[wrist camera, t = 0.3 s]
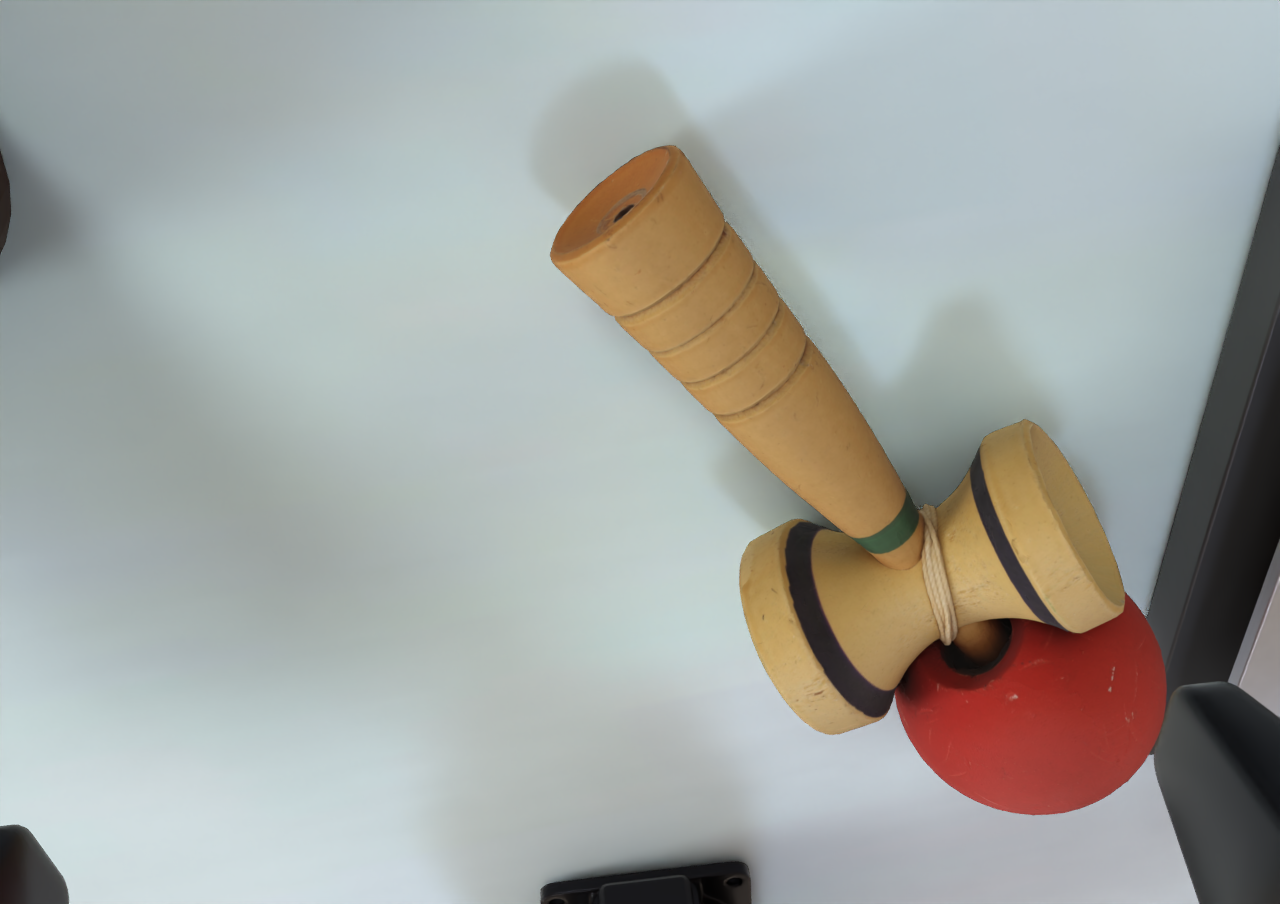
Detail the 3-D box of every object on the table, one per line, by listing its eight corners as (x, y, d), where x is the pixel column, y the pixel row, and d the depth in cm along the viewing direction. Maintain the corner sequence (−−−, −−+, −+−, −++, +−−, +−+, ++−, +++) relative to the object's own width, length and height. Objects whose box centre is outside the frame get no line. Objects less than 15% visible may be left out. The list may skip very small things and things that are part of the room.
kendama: (442, 288, 24) (910, 762, 31) (433, 409, 18) (1007, 952, 26) (731, 31, 23) (1151, 591, 30) (818, 78, 17) (1309, 752, 24)
